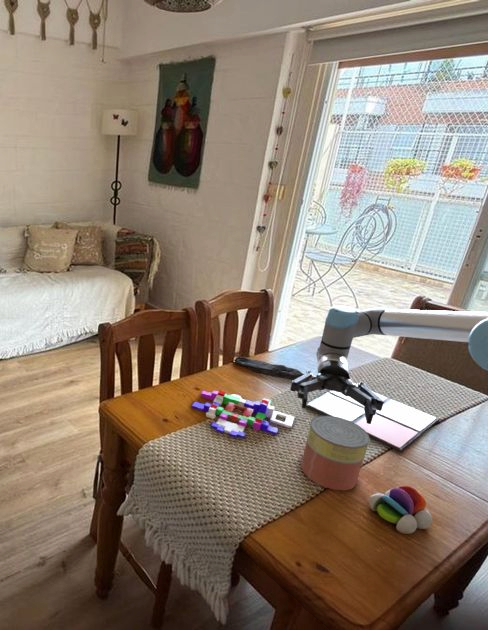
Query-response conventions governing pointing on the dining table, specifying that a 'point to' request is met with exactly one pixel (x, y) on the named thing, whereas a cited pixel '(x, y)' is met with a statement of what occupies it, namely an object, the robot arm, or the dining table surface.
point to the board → (378, 418)
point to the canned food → (334, 452)
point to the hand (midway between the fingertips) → (336, 411)
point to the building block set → (245, 419)
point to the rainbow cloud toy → (402, 509)
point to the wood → (268, 368)
